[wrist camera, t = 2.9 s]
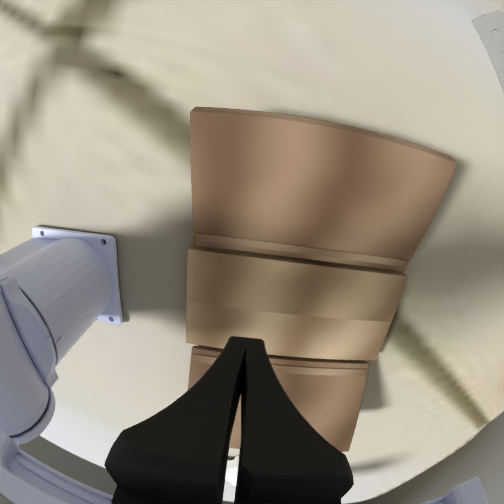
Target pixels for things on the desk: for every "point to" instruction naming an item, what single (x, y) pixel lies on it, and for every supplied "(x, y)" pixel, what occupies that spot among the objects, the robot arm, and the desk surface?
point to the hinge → (493, 39)
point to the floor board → (289, 303)
